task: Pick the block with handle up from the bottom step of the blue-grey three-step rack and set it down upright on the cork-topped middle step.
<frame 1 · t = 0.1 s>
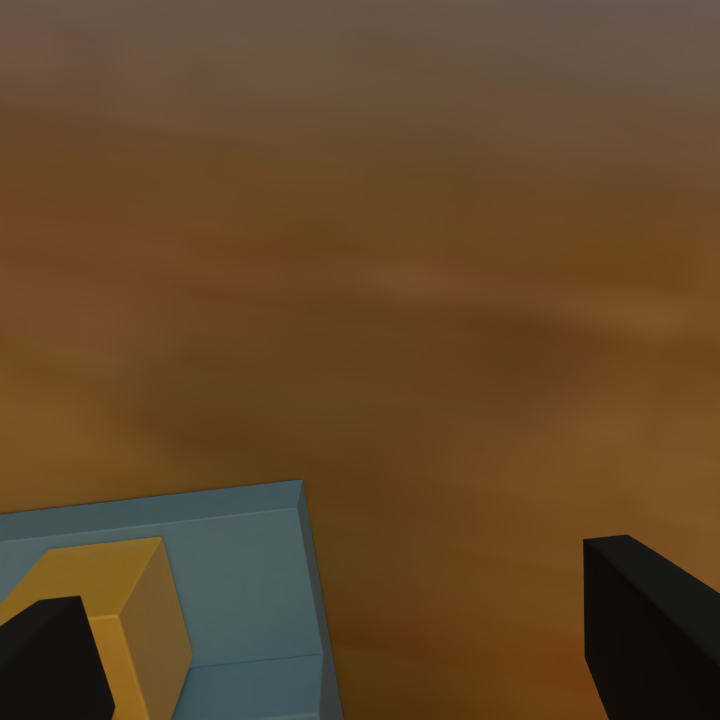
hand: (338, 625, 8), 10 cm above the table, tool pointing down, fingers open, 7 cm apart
block with handle: (123, 603, 18), point 2 cm above the table, touching step rack
step rack: (182, 707, 21), on the table
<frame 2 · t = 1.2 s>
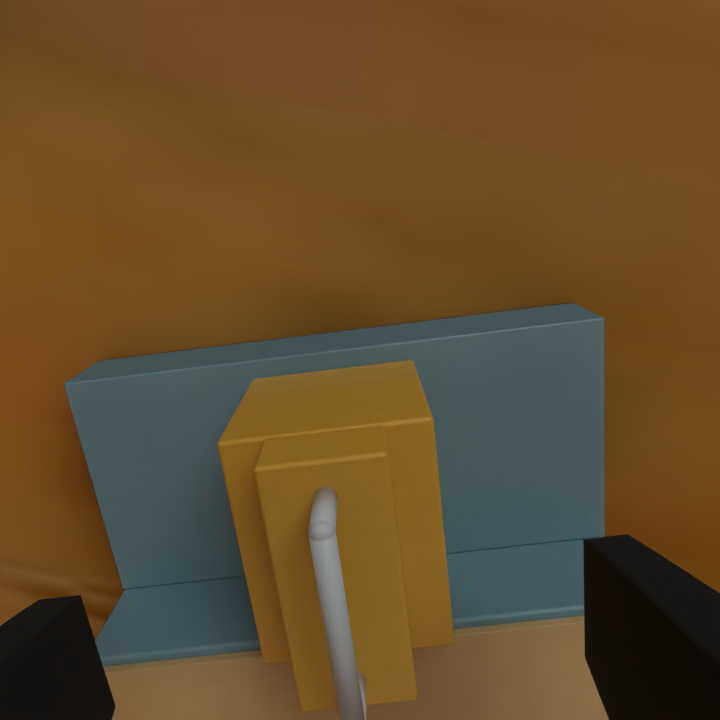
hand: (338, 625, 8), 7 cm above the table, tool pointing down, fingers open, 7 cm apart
block with handle: (345, 461, 13), point 2 cm above the table, touching step rack
step rack: (374, 626, 17), on the table
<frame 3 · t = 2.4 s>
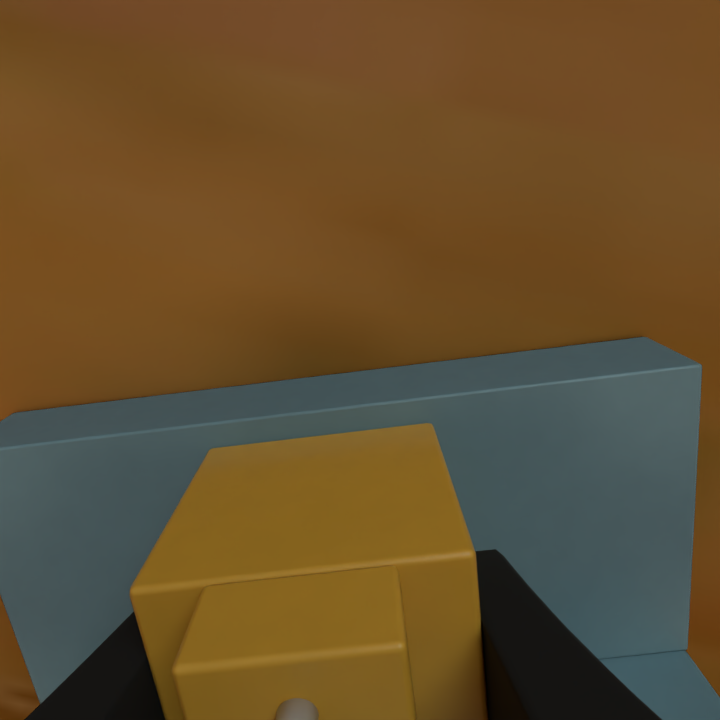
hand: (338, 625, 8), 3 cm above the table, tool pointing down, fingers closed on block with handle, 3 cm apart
block with handle: (339, 556, 10), point 2 cm above the table, touching gripper, step rack
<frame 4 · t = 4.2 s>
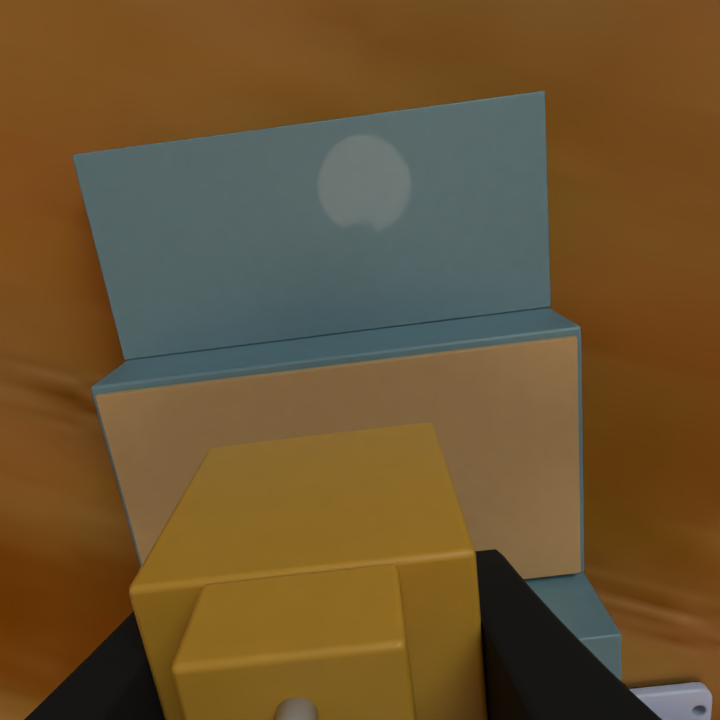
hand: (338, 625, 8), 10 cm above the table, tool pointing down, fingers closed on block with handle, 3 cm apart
block with handle: (339, 556, 10), point 9 cm above the table, touching gripper
step rack: (352, 424, 18), on the table
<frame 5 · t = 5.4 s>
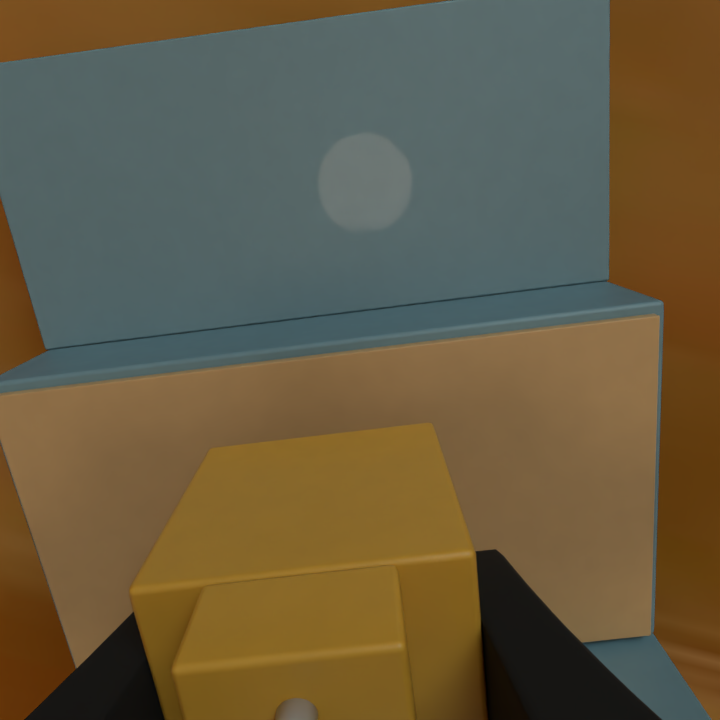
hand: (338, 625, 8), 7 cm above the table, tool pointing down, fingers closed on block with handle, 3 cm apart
block with handle: (339, 556, 10), point 5 cm above the table, touching gripper
step rack: (346, 433, 15), on the table
when the fingers open (6 cm above the table, at t = 6.1 s): block with handle stays where it is, resting on step rack.
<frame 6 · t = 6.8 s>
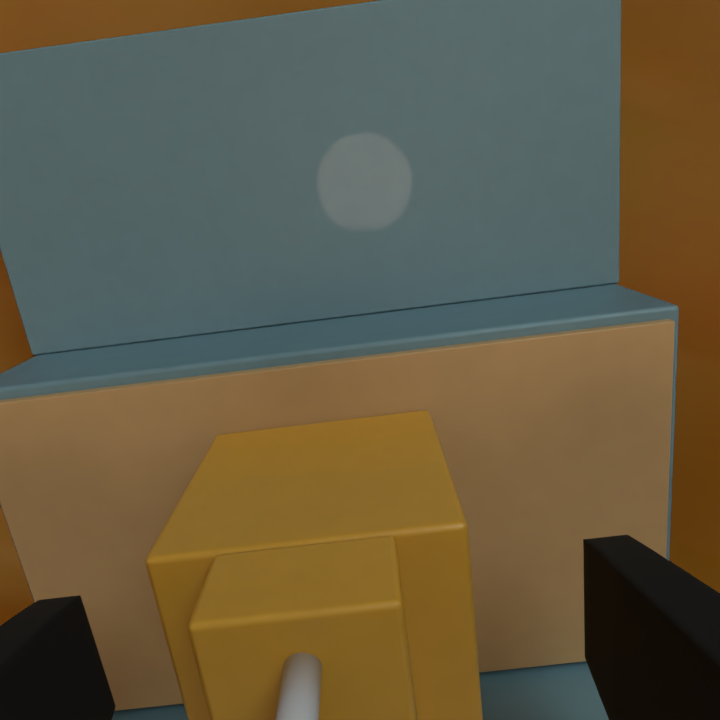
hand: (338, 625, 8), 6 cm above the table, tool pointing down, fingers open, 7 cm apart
block with handle: (340, 539, 10), point 4 cm above the table, touching step rack
step rack: (345, 440, 14), on the table
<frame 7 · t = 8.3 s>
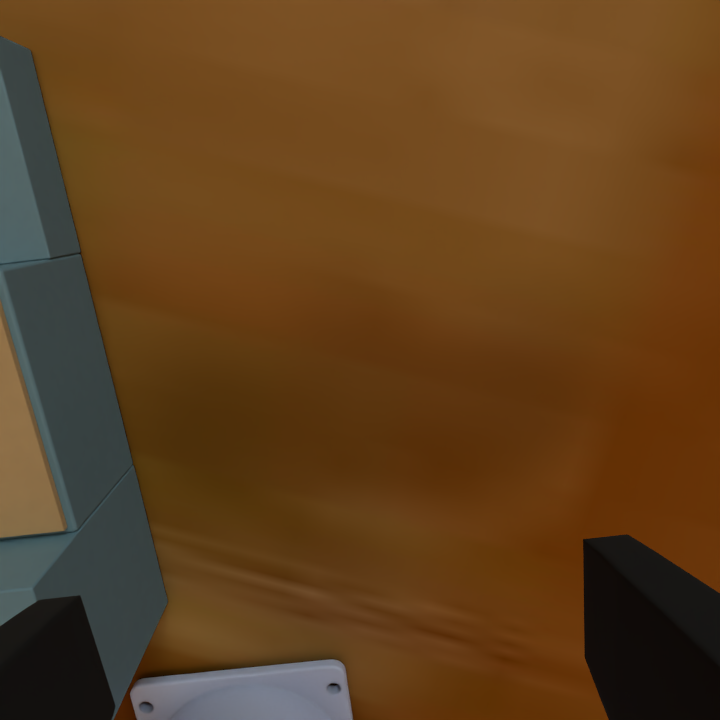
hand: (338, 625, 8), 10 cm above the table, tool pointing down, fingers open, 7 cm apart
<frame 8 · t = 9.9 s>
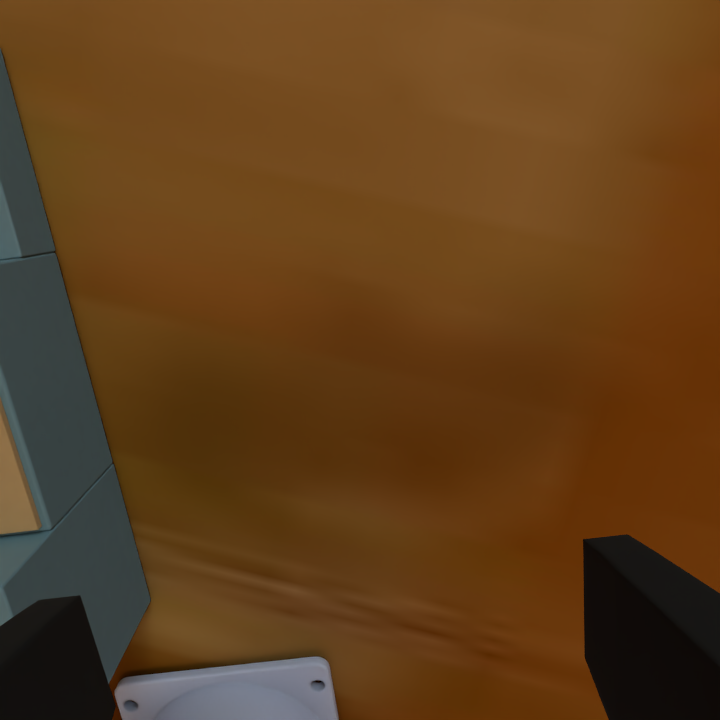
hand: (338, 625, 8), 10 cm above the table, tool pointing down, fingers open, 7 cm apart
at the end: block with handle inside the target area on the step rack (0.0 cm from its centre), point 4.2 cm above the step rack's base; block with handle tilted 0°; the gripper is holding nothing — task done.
